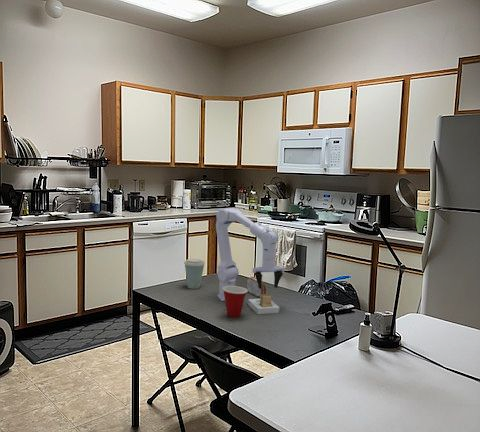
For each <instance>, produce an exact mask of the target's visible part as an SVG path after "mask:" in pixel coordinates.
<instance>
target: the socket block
mask: <svg viewBox="0 0 480 432" xmlns="http://www.w3.org/2000/svg"><path fill="white" fill-rule="evenodd" d="M247 305H248V306H249V307H250V309H252V310H253V312H255V313H256V314H257V315H265V314H266V315H267V314H269V315H270V314H278V313H279V314H280V306H279V305H278V304H276V303H275V302H274V301H273V300H271V307H261V306H260V298H250V299H247Z"/></svg>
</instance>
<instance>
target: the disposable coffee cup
mask: <svg viewBox="0 0 480 432" xmlns="http://www.w3.org/2000/svg"><path fill="white" fill-rule="evenodd" d="M204 267H205V260H203V259H200V258H199V259H197V258H190V259H189V258H188V259H186V260H185V261H184V268H185V277H186V278H185V279H186V286H187V288H188V289H192V290H194V289H195V290H196V289H200V287H201V283H202V277H203V272H204Z"/></svg>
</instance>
